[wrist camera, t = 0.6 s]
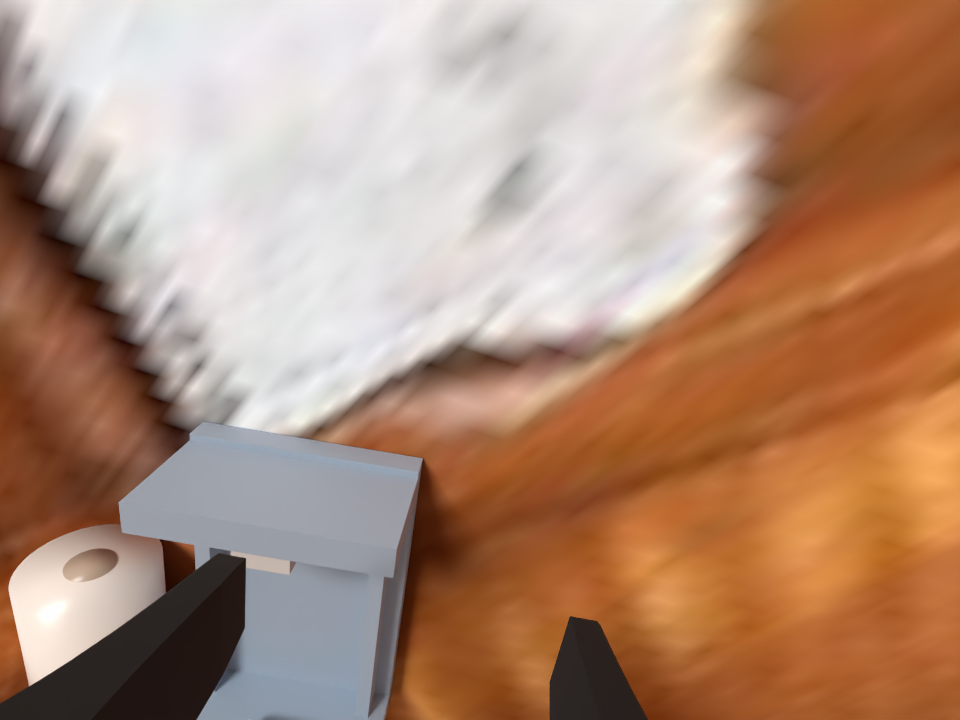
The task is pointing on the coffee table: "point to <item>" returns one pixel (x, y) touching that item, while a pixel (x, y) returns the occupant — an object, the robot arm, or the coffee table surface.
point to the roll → (81, 592)
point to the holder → (294, 563)
